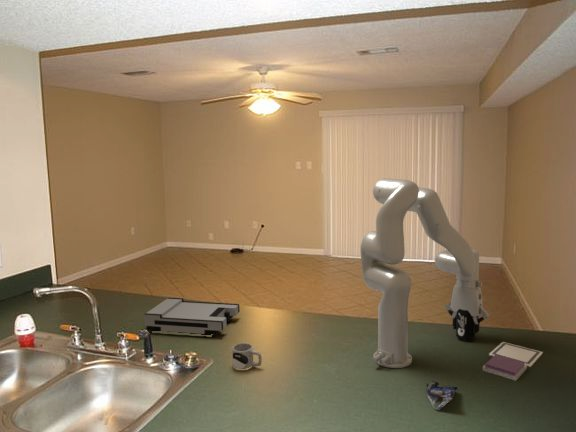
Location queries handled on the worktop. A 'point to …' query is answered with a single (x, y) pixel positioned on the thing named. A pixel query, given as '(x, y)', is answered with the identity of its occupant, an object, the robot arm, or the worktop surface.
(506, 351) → the marked card
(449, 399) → the snack package
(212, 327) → the game console
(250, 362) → the mug
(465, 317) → the beverage can
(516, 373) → the ink pad
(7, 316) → the worktop surface
